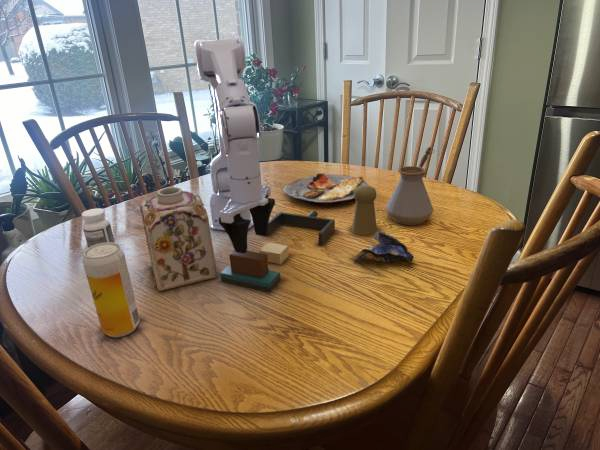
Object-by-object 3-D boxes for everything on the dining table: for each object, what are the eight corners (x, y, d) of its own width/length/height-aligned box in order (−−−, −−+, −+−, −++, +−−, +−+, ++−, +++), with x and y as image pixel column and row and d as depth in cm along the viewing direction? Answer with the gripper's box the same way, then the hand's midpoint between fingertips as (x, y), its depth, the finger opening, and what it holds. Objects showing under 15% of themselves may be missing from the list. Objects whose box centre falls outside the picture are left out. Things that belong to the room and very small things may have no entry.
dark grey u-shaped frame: (264, 236, 105) (263, 224, 104) (289, 215, 116) (288, 204, 115) (321, 245, 99) (321, 233, 98) (342, 222, 110) (341, 211, 109)
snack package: (361, 243, 99) (347, 266, 89) (367, 217, 97) (353, 238, 87) (414, 258, 96) (405, 284, 86) (421, 232, 93) (413, 256, 83)
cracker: (259, 260, 94) (258, 250, 93) (268, 252, 97) (267, 242, 96) (280, 264, 92) (279, 254, 91) (288, 255, 95) (288, 245, 94)
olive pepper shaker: (376, 236, 102) (377, 192, 97) (350, 235, 103) (350, 191, 99) (377, 225, 107) (379, 183, 103) (353, 224, 109) (353, 182, 104)
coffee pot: (424, 231, 103) (429, 170, 97) (378, 223, 109) (380, 165, 102) (447, 202, 119) (453, 148, 113) (406, 195, 125) (410, 144, 119)
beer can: (109, 318, 77) (88, 242, 71) (144, 315, 77) (126, 239, 71) (97, 341, 71) (74, 260, 65) (135, 337, 72) (115, 257, 66)
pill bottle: (104, 244, 105) (94, 205, 100) (121, 248, 102) (112, 209, 98) (84, 254, 100) (73, 215, 96) (102, 259, 97) (91, 218, 93)
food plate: (317, 176, 145) (317, 165, 144) (381, 187, 132) (381, 176, 131) (270, 199, 127) (269, 188, 126) (338, 215, 114) (338, 202, 113)
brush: (221, 281, 87) (217, 254, 84) (233, 270, 90) (230, 244, 88) (270, 292, 82) (267, 264, 80) (280, 280, 86) (278, 253, 83)
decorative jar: (151, 266, 94) (135, 186, 86) (205, 254, 98) (194, 177, 90) (158, 293, 84) (140, 206, 76) (218, 278, 88) (206, 194, 80)
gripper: (242, 190, 70) (250, 264, 76) (282, 165, 82) (286, 230, 88) (206, 186, 73) (216, 257, 79) (250, 162, 85) (256, 226, 91)
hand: (251, 243), depth 83 cm, fingers open, 7 cm apart
